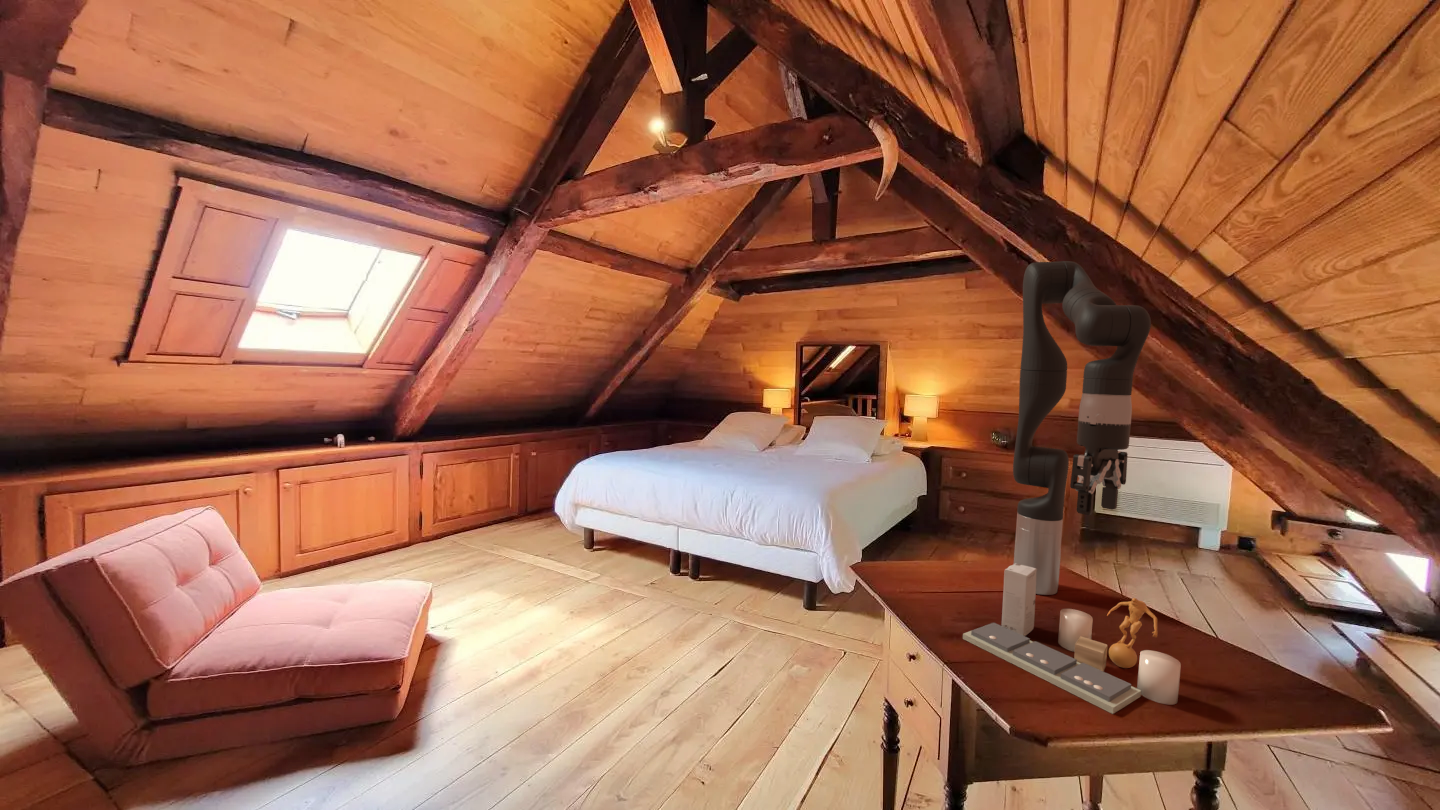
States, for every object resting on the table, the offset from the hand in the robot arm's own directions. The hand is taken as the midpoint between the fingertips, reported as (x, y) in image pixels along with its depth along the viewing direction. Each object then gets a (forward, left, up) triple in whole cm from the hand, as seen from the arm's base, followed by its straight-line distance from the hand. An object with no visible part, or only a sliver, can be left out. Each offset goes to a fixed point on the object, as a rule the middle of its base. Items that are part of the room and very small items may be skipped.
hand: (1096, 511), depth 96 cm
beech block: (+4, +2, -26) cm, 27 cm away
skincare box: (+2, -12, -27) cm, 29 cm away
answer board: (+11, -2, -26) cm, 28 cm away
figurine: (-2, +5, -27) cm, 27 cm away
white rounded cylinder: (-1, -3, -26) cm, 26 cm away
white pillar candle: (+3, +12, -26) cm, 29 cm away
